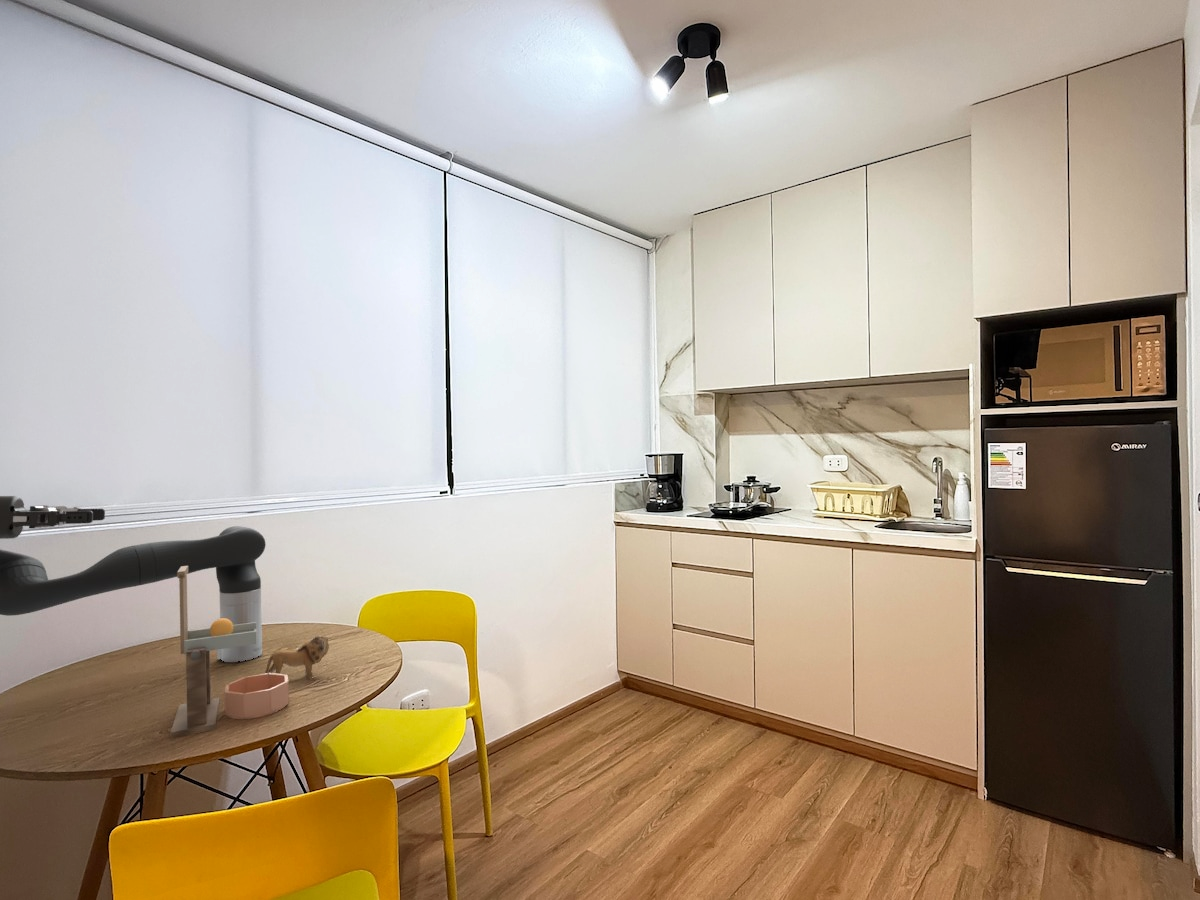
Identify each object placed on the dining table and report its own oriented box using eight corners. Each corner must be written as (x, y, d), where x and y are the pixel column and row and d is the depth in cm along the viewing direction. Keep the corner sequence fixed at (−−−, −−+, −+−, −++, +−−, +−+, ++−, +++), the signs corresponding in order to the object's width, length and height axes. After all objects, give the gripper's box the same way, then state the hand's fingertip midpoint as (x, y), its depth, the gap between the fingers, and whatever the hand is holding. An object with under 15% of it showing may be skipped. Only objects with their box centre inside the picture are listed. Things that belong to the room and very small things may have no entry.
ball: (205, 641, 125) (204, 620, 125) (221, 635, 129) (221, 615, 129) (222, 642, 124) (222, 621, 124) (238, 636, 128) (238, 616, 128)
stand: (170, 738, 116) (169, 655, 116) (179, 709, 129) (178, 635, 129) (215, 729, 119) (213, 649, 119) (219, 702, 133) (218, 629, 133)
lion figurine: (328, 669, 152) (328, 631, 152) (330, 676, 147) (329, 637, 147) (259, 680, 145) (258, 640, 145) (258, 687, 141) (257, 647, 141)
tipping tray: (178, 655, 120) (176, 572, 120) (182, 644, 127) (181, 565, 127) (256, 644, 126) (254, 565, 126) (256, 634, 133) (255, 559, 133)
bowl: (224, 724, 122) (223, 698, 122) (226, 703, 132) (226, 679, 132) (289, 711, 127) (289, 686, 127) (287, 693, 137) (287, 669, 137)
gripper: (-2, 535, 117) (107, 532, 125) (-37, 543, 105) (87, 539, 112) (0, 495, 118) (109, 494, 125) (-35, 497, 105) (88, 496, 112)
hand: (98, 515), depth 118 cm, fingers open, 8 cm apart
